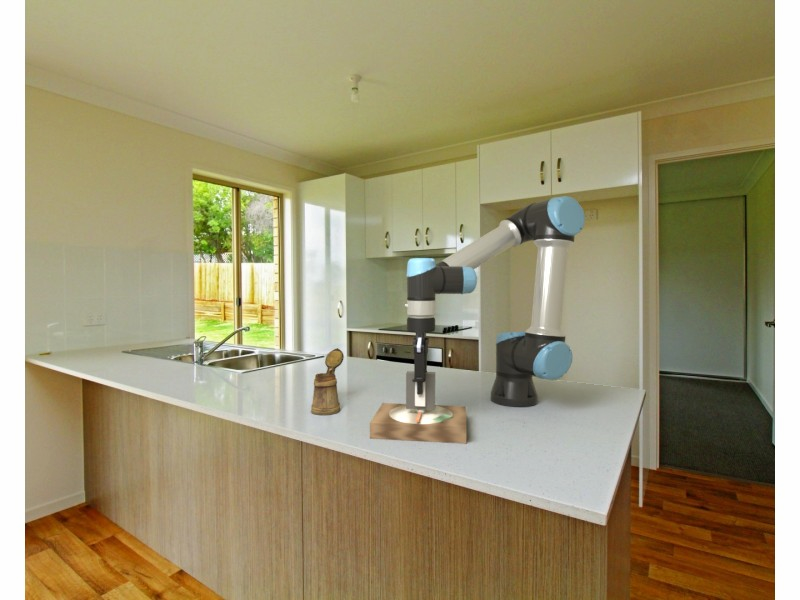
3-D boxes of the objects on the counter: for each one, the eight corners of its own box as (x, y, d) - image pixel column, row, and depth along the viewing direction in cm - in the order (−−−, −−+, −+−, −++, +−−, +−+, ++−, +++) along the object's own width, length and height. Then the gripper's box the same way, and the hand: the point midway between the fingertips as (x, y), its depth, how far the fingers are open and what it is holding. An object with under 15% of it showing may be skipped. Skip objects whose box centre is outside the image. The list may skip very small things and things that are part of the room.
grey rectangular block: (435, 411, 117) (435, 372, 117) (432, 424, 107) (432, 380, 106) (407, 410, 118) (407, 371, 118) (402, 422, 108) (402, 379, 108)
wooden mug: (351, 404, 140) (350, 348, 139) (332, 416, 127) (332, 355, 126) (325, 401, 143) (325, 347, 142) (305, 413, 130) (305, 353, 129)
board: (465, 420, 124) (465, 405, 124) (466, 443, 106) (466, 425, 106) (382, 416, 127) (382, 401, 127) (369, 438, 109) (369, 421, 109)
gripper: (410, 314, 123) (410, 396, 124) (403, 318, 108) (402, 412, 109) (436, 314, 122) (436, 397, 123) (433, 319, 107) (432, 413, 108)
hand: (420, 404), depth 116 cm, fingers closed on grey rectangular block, 2 cm apart
